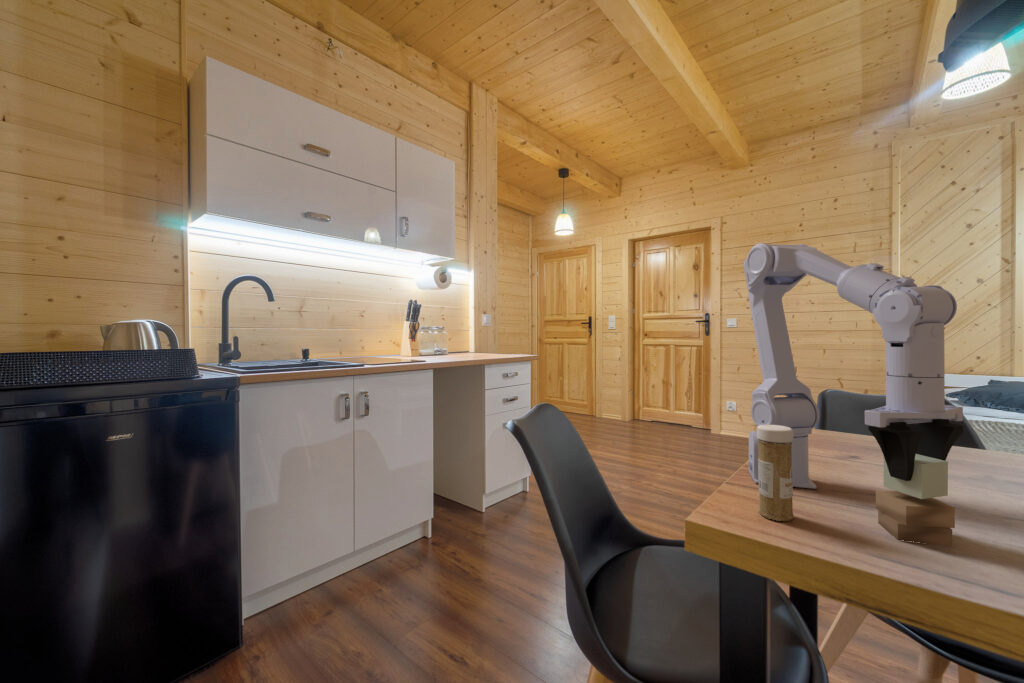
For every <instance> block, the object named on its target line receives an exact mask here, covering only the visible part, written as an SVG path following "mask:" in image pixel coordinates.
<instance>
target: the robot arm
mask: <svg viewBox="0 0 1024 683" xmlns="http://www.w3.org/2000/svg"><path fill="white" fill-rule="evenodd" d="M884 267H885V266H884V265H882V264H881V263H867V264H866V263H865V264H864V263H863V264H859V265H855V266H850V265H848V264H846V263H844V262H843V261H840V260H838V259H837V258H835V257H832V256H830V255H828V254H826V253H824V252H822V251H820V250H818V248H817V247H816V246H814V247H813V246H808V245H807V244H805V243H804V244H803V243H800V244H773V243H772V244H771V243H769V244H768V243H765V242H763V243H762V242H760V243H756V244H755V245H754V246H753V247H751V249H750V250H749V252H748V254H747V255H746V258H745V260H744V262H743V271H744V275H745V281H746V288H747V291H748V295H747V296H748V302H749V307H750V313H751V320H752V324H753V330H754V337H755V343H756V348H757V354H758V359H759V364H760V371H761V375H762V376H761V377H762V382H761V383H760V384H759V385H758V386H757V387H756V388H755V389H754V390H753V391H752V392H751V398H752V405H751V408H750V409H751V411H750V412H751V418H752V421H753V423H754V425H755V426H756V428H757V427H758V426H759V425H780V426H786V427H789V428H791V429H792V430H793V441H792V445H791V447H792V448H791V452H792V484H793V488H802V489H805V488H806V489H814V490H815V489H817V488H818V487H817V485H816V484H815V483H814V481H812V479H810V477H809V475H810V474H809V435H811V434H813V432H812V429H814V428H815V427H817V426H818V423H819V421H820V417H821V416H820V409H819V407H818V405H817V403H816V401H815V400H814V399H813V396H812V391H811V388H810V387H808V386H807V385H805V384H804V383H803V382H802V381H800V380H799V379H798V378H797V372H796V366H795V362H794V357H793V352H792V346H791V342H790V338H789V337H790V336H789V331H788V326H787V321H786V316H785V314H786V313H785V310H784V304H783V297H784V295H786V293H788V292H790V291H791V290H792V289H793V288H794V287H795V286H797V285H798V283H799V282H801V281H802V280H803V279H804V278H805V277H806V276H807V275H808V276H811V277H813V278H816V279H819V280H820V281H823V282H825V283H828V284H830V285H832V286H834V287H836V292H837V294H838V297H840V298H841V299H843V300H845V301H847V302H848V303H851V304H853V305H855V306H856V307H859V308H861V309H862V310H864V311H866V312H869V313H871V314H873V318H874V319H875V322H876V323H877V324H878V325H879V327H880V328H881V337H882V338H883V340H884V342H885V405H884V406H880V407H877V408H873V409H866V410H864V425H866V426H868V427H867V429H868V431H869V432H870V433H871V434H872V436H873V437H874V439H875V440H876V442H877V444H878V446H879V448H880V450H881V451H882V455H883V459H884V458H885V461H886V464H887V467H888V470H889V473H890V476H891V477H894V478H898V479H901V480H905V481H911V479H912V476H913V472H914V462H915V455H916V454H919V455H923V456H927V457H931V458H936V459H940V460H944V461H947V458H948V456H949V453H950V451H951V449H952V447H953V446H954V444H955V442H957V440H958V439H959V438H960V437H961V436H962V434H963V433H964V425H961V424H957V423H956V424H955V423H950V421H954V422H963V421H964V407H963V406H959V405H957V406H956V405H950V404H946V403H945V398H946V397H945V396H946V395H945V393H946V392H945V384H946V382H945V376H946V375H945V372H946V371H945V326H946V325H948V324H949V323H950V322H951V321H952V320H953V318H954V317H955V316H956V313H957V308H958V304H957V300H956V298H955V296H954V295H953V294H952V293H951V292H950V291H948V290H947V289H945V288H943V287H942V286H941V285H933V284H931V285H929V284H928V285H924V286H918V284H916V283H915V279H914V278H912V277H909V276H900V277H899V276H897V275H895V274H893V273H890V272H887V271H885V270H883V269H884ZM776 396H780V397H776ZM758 458H759V442H758V438H757V430H756V431H755V430H751V431H749V434H748V472H749V474H750V476H751V478H752V479H753V482H754V483H755V484H759V478H758Z"/></svg>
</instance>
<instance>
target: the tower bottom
mask: <svg viewBox="0 0 1024 683" xmlns="http://www.w3.org/2000/svg"><path fill="white" fill-rule="evenodd" d="M877 523H878V524H879V526H881V527H882V528H883V529H884V530H885V531H886V532H888V533H889V534H890V535H891V536H892V537H893V536H894V537H895V539H896V541H898V540H904V541H903V542H905V541H912V542H911V543H913V541H914V542H920V543H919V544H922V543H926V544H925V545H930V544H932V545H931V546H938V545H939V547H948V548H953V528H943V527H920V526H905V525H904V524H902V523H900V522H898V521H897V520H895V519H893V518H891V517H890V516H888V515H886V514H884V513H883V512H881V511H879V510H877ZM894 537H893V538H894Z"/></svg>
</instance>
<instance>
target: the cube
mask: <svg viewBox="0 0 1024 683" xmlns="http://www.w3.org/2000/svg"><path fill="white" fill-rule="evenodd" d="M948 472H949V461H947V460H946V461H944V460H940V459H936V458H931V457H927V456H923V455H919V454H916V455H915V462H914V472H913V476H912V479H911V481H905V480H901V479H898V478H894V477H891V476H890V473H889V470H888V467H887V464H886V461H885V458H884V457H883V488H887V489H889V490H891V491H898V492H901V493H904V494H907V495H911V496H914V497H917V498H920V499H926V498H934V499H935V498H938V497H939V498H940V497H947V496H948V495H949V494H948V493H949V492H948V490H949V488H948V487H949V486H948V485H949V484H948V482H949V473H948Z"/></svg>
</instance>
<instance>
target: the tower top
mask: <svg viewBox="0 0 1024 683" xmlns="http://www.w3.org/2000/svg"><path fill="white" fill-rule="evenodd" d="M875 509H876V510H877V511H878V510H879V511H881V512H883V513H884V514H886V515H888V516H890V517H891V518H893V519H895V520H897V521H898V522H900V523H902V524H904V525H905V526H920V527H943V528H951V529H955V528H956V527H955V526H956V525H955V522H956V521H955V517H956V516H955V513H956V512H955V510H956V508H955V507H954V506H952V505H949V504H948V503H945V502H943V501H940V500H938V499H936V498H935V497H934V498H926V499H920V498H917V497H914V496H911V495H907V494H904V493H901V492H898V491H895V490H875Z"/></svg>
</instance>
